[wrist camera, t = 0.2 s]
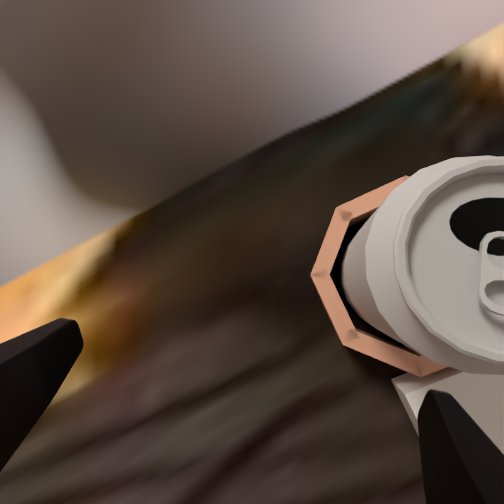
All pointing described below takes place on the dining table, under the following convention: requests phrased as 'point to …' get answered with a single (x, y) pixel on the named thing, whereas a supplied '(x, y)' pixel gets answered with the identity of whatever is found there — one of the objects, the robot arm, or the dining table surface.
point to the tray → (459, 397)
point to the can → (436, 265)
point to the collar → (332, 301)
